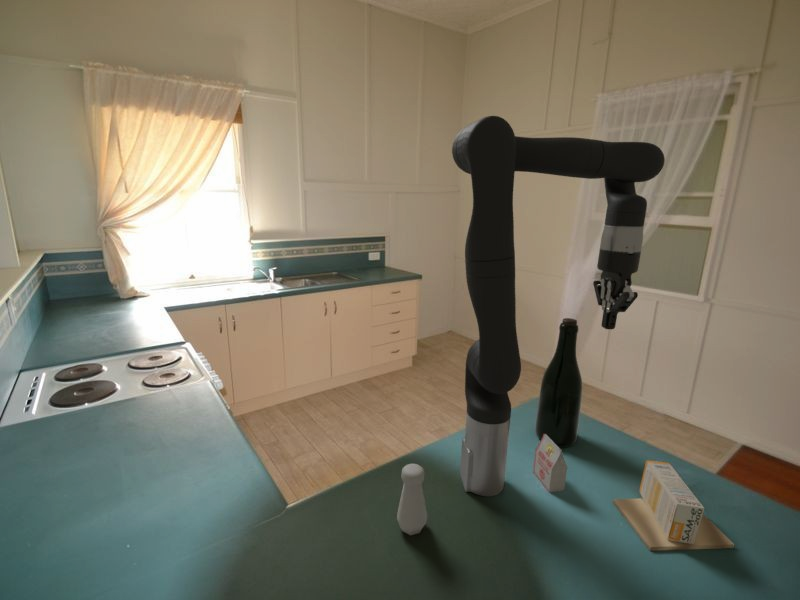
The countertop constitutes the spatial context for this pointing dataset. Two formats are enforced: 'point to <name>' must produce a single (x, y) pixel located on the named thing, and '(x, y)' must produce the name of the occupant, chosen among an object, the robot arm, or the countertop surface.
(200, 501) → the countertop surface
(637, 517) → the tan wooden board
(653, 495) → the supplement box
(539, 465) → the white printed carton box
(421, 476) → the salt shaker
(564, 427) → the dark green wine bottle
